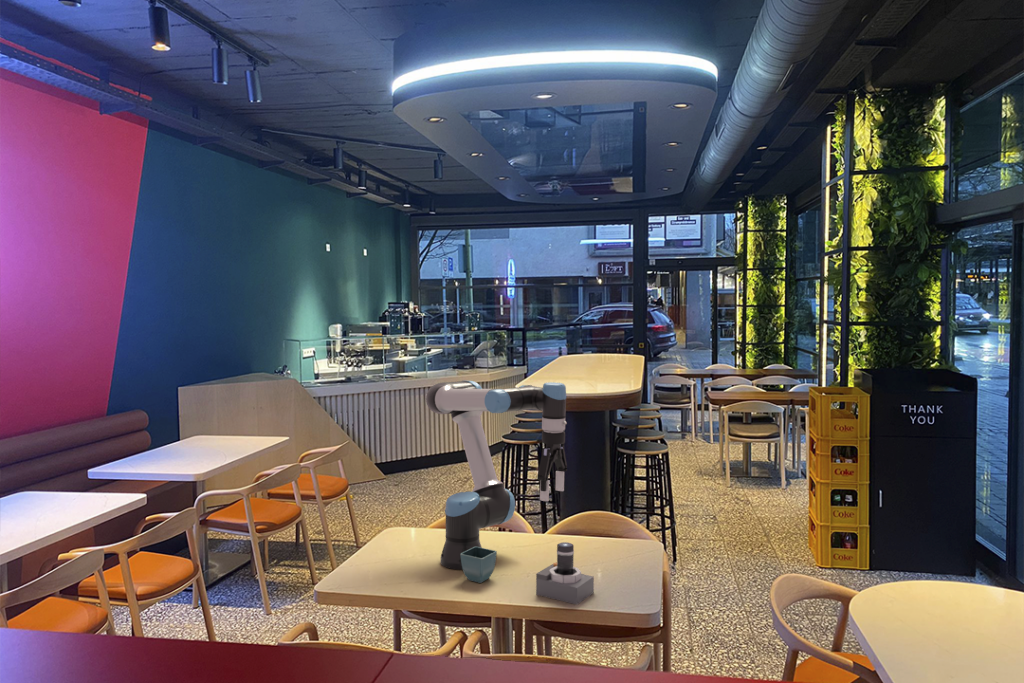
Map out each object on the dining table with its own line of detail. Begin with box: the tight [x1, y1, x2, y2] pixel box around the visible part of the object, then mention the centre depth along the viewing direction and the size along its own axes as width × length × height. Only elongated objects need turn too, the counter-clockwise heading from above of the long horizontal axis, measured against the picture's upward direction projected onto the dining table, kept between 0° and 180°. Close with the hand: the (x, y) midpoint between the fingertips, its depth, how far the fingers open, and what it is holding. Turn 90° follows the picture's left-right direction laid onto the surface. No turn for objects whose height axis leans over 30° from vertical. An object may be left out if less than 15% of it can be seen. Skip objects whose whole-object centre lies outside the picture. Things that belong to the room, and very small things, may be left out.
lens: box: [556, 541, 575, 575], centre depth 218 cm, size 5×5×10 cm
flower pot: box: [460, 546, 497, 583], centre depth 230 cm, size 9×9×9 cm
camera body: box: [535, 562, 595, 606], centre depth 218 cm, size 14×11×7 cm
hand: (552, 495), depth 231 cm, fingers open, 13 cm apart
